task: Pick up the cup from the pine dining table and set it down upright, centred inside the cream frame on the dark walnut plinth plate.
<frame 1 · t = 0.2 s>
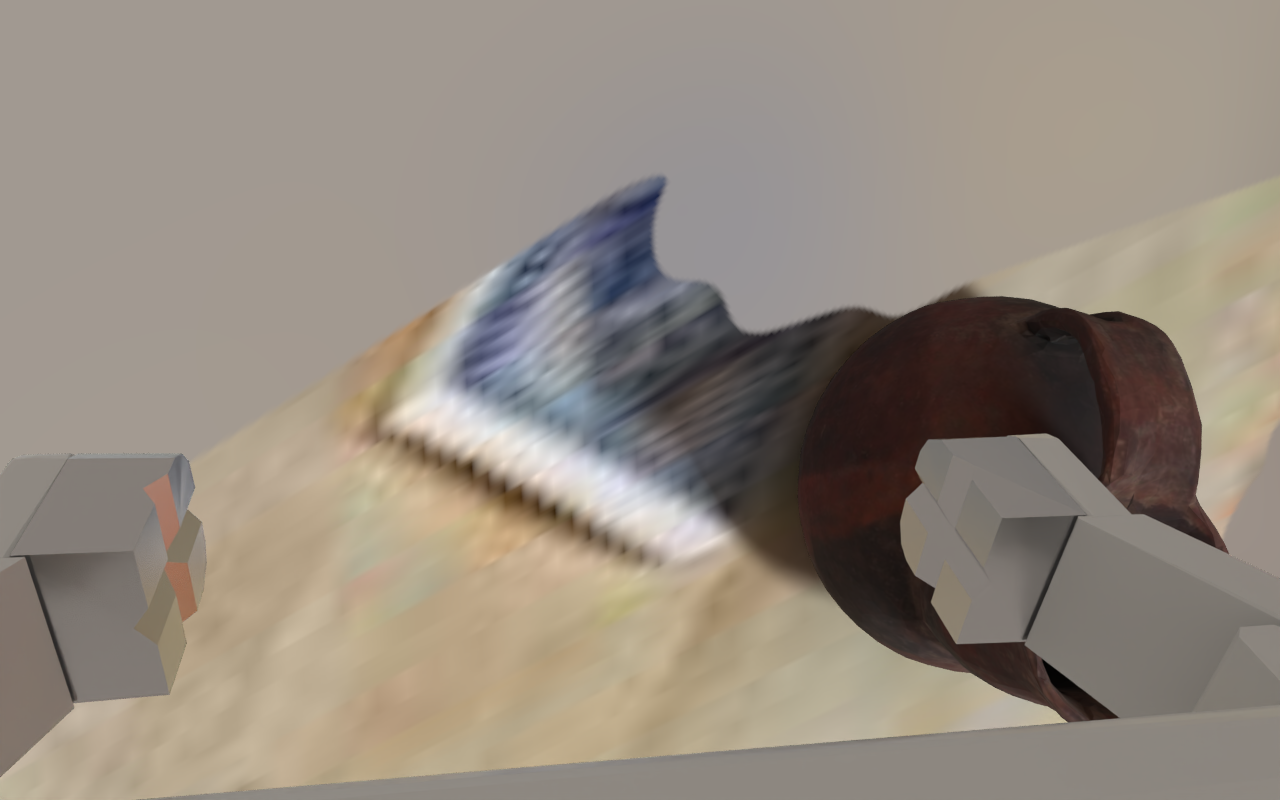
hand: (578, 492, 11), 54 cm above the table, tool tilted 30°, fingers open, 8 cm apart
jug: (924, 468, 70), on the table
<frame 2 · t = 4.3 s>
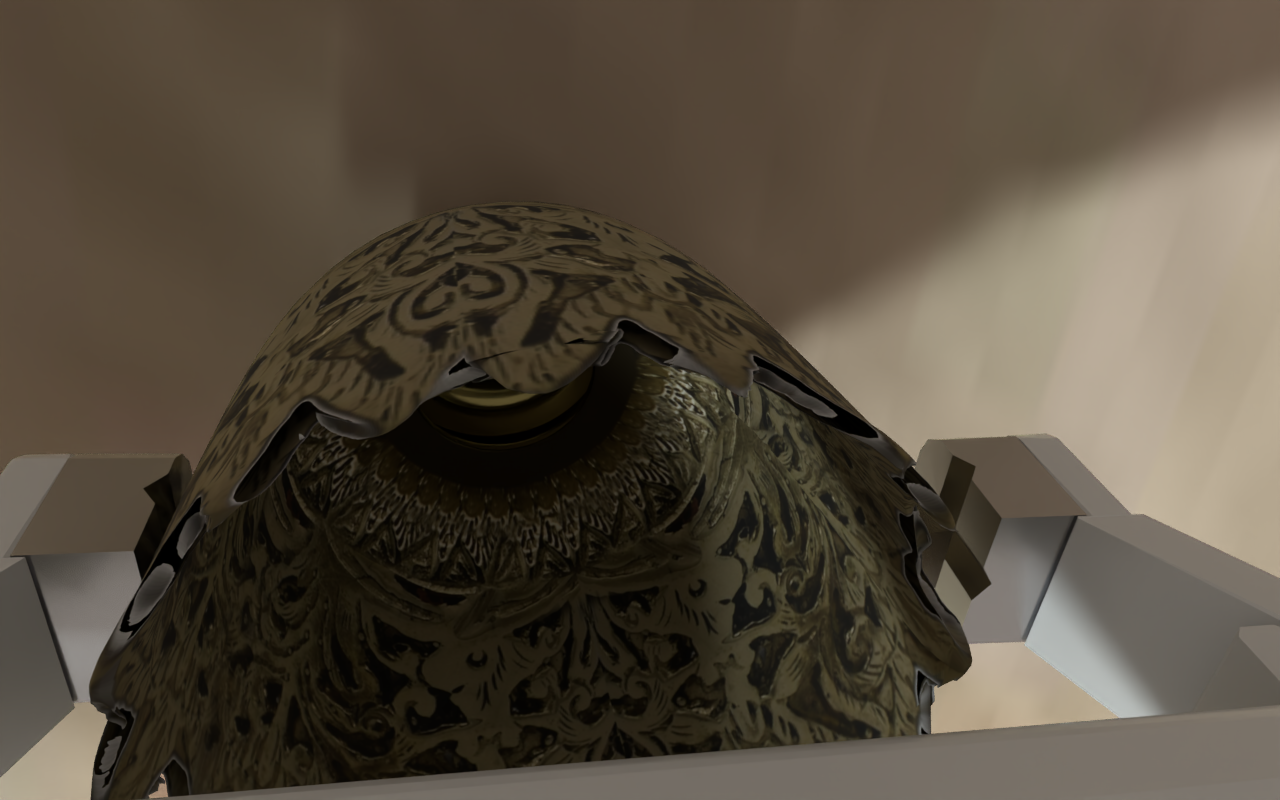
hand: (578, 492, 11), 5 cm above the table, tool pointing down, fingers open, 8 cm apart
cup: (491, 311, 15), on the table
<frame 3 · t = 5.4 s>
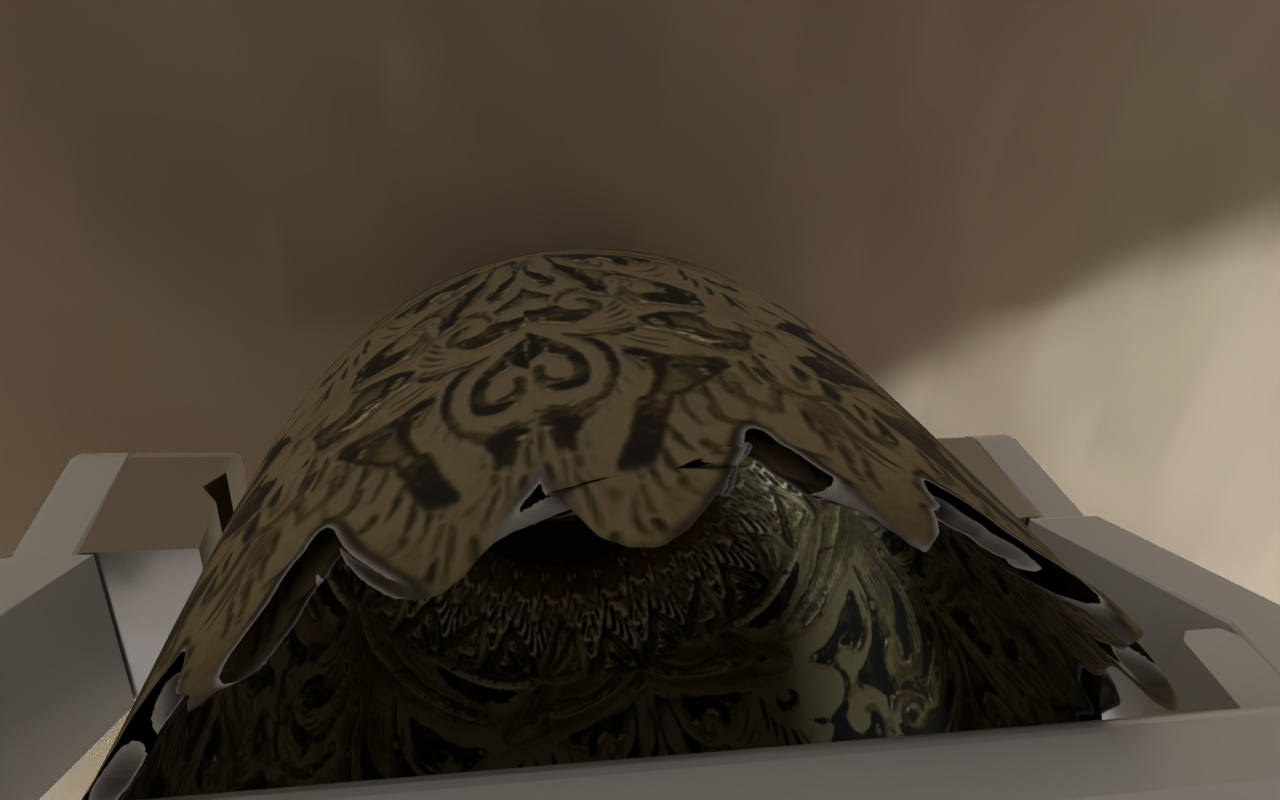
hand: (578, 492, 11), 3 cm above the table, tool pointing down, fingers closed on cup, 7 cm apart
cup: (555, 362, 13), on the table, touching gripper
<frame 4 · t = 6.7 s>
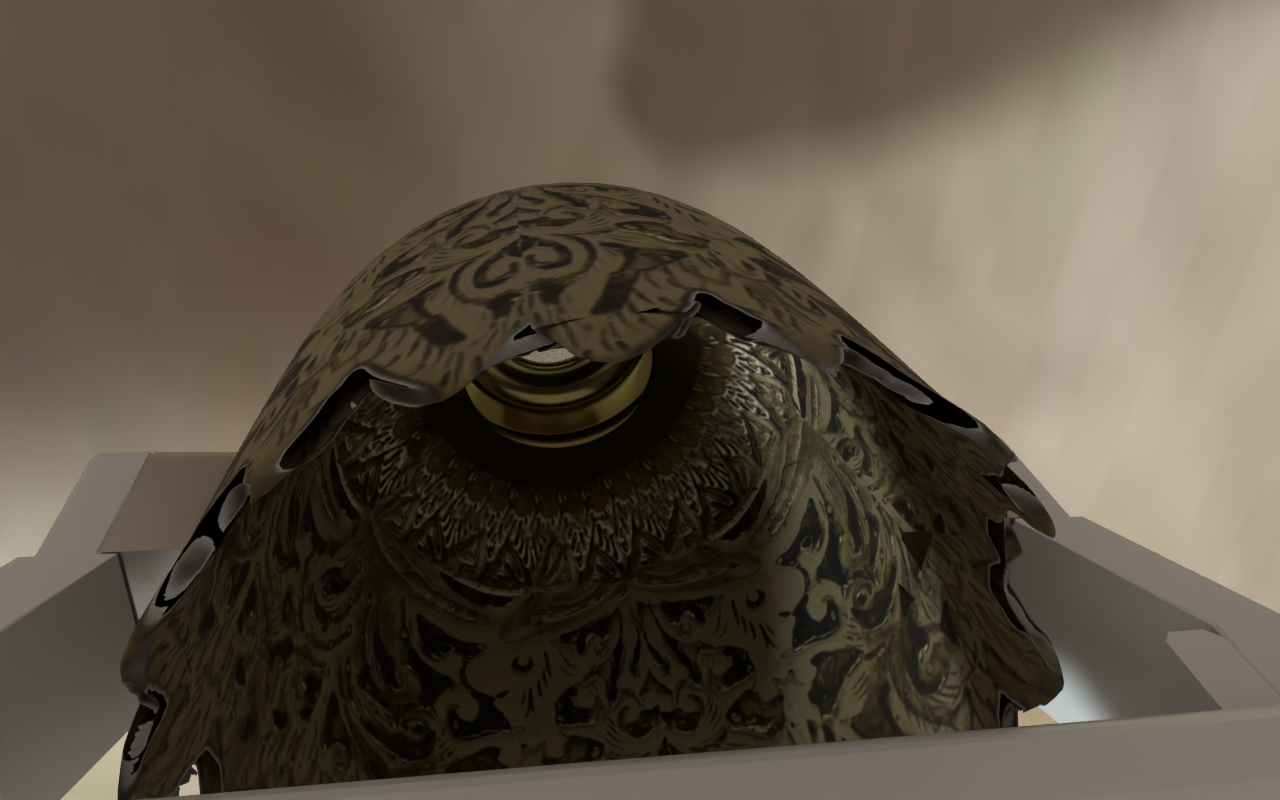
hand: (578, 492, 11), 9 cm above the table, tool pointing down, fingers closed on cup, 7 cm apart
cup: (548, 306, 14), point 4 cm above the table, touching gripper
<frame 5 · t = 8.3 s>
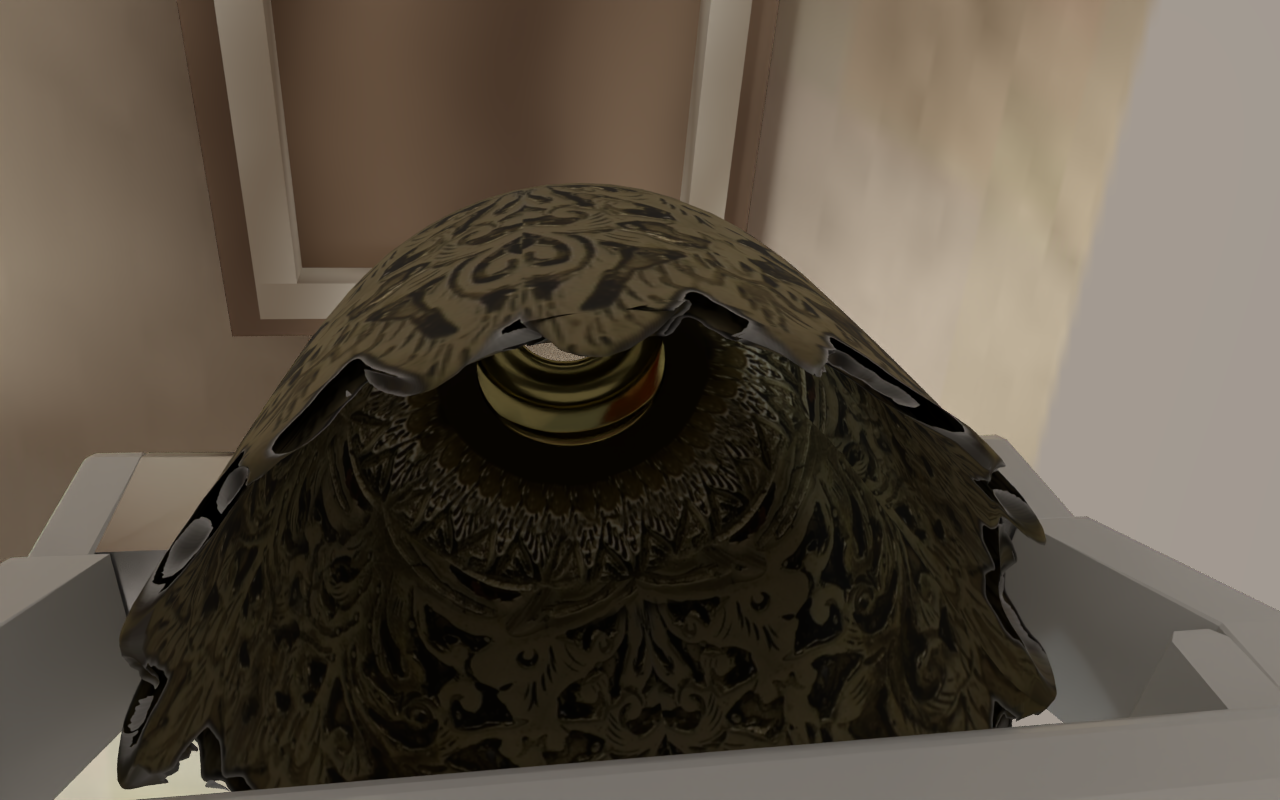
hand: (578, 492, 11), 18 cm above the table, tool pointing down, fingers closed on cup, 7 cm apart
cup: (565, 306, 14), point 13 cm above the table, touching gripper
plinth plate: (490, 61, 25), on the table
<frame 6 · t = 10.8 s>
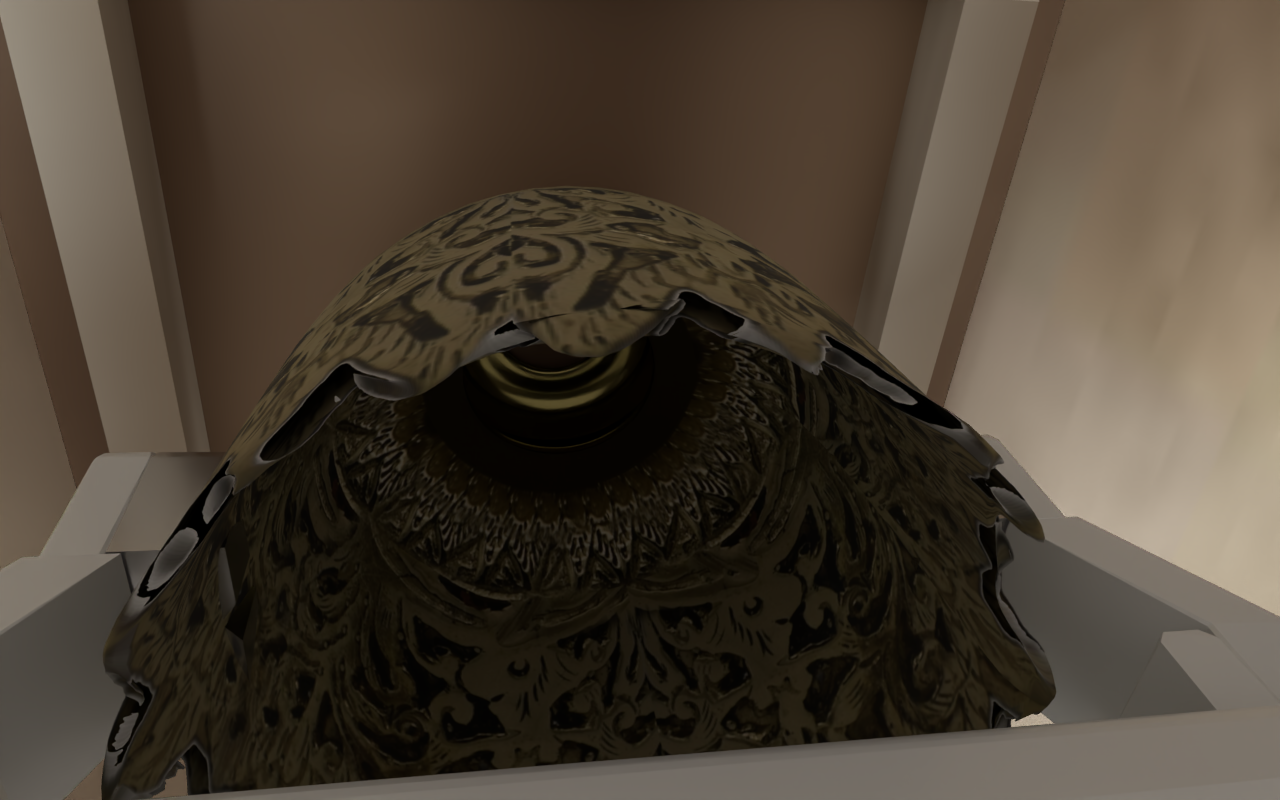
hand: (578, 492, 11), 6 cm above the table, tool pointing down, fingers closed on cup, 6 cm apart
cup: (551, 312, 14), point 2 cm above the table, touching gripper, plinth plate
plinth plate: (532, 266, 16), on the table
when the fingers open (6 cm above the table, at t = 10.9 s): cup stays where it is, resting on plinth plate.
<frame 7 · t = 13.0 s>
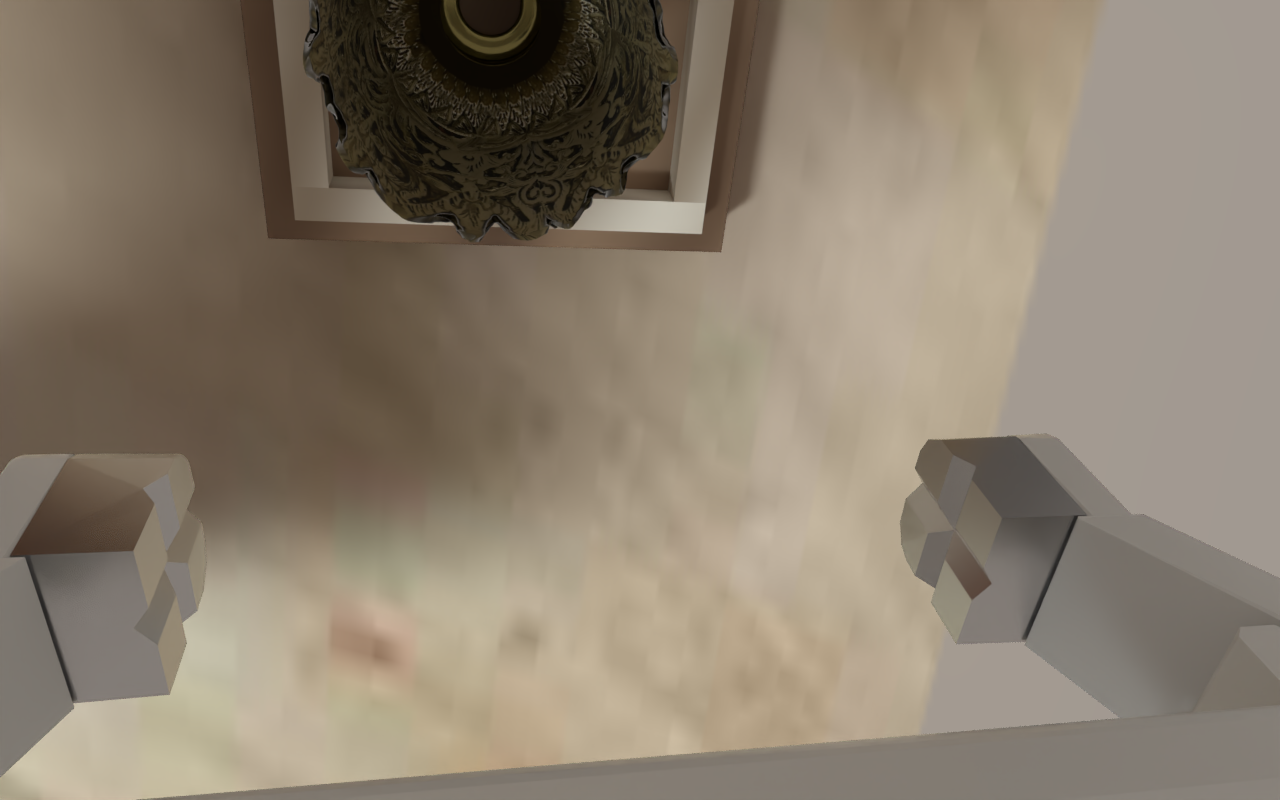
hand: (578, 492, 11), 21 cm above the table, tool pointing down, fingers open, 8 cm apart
cup: (490, 1, 26), point 2 cm above the table, touching plinth plate
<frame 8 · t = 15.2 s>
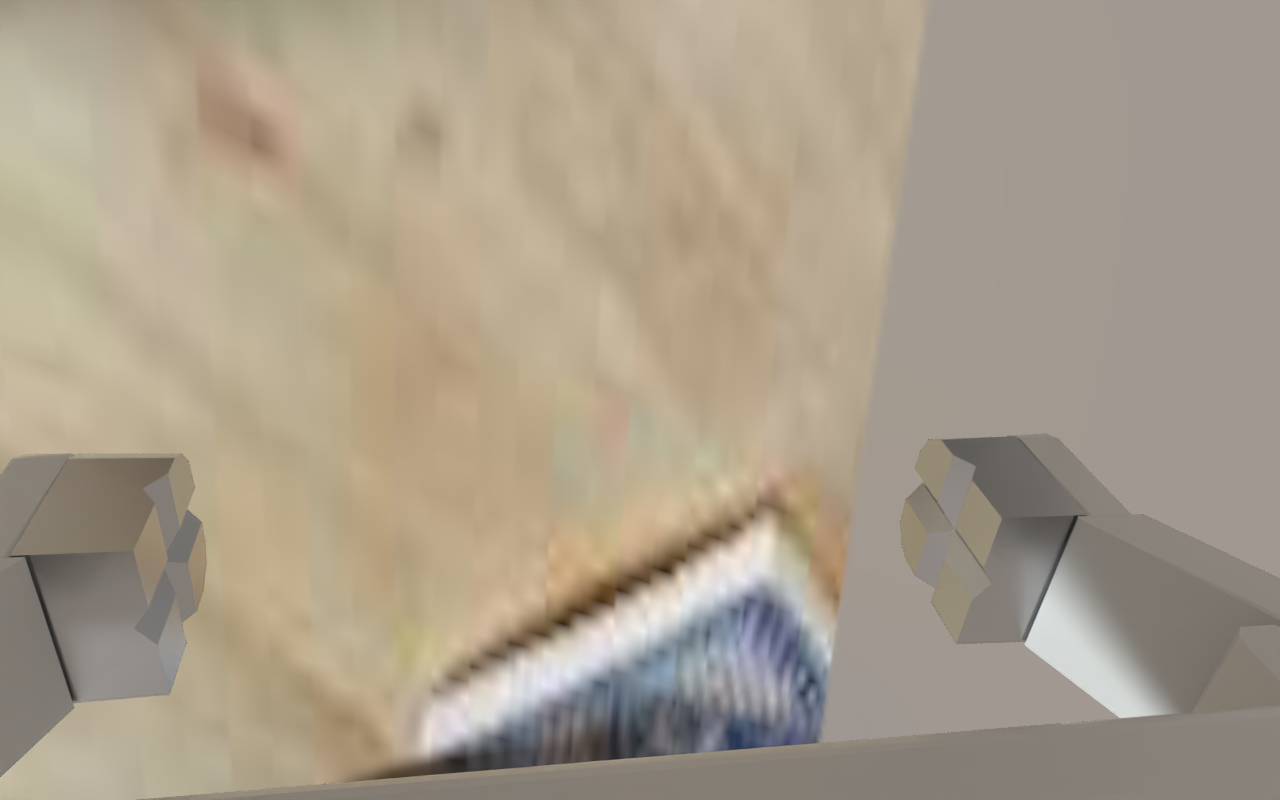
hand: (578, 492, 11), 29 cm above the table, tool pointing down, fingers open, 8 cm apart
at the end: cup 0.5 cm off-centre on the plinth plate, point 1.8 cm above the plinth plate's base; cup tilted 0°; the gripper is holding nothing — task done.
